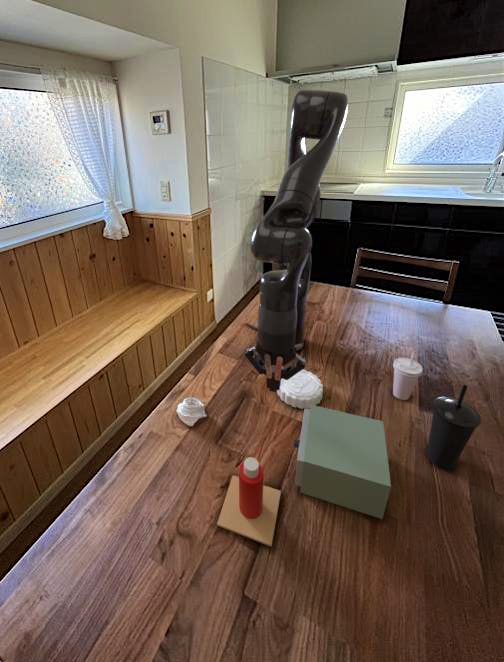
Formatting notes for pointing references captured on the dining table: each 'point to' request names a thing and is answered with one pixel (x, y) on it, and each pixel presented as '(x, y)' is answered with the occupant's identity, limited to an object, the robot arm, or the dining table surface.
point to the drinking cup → (451, 429)
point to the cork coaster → (250, 528)
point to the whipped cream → (191, 411)
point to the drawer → (301, 447)
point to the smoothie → (405, 376)
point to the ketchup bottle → (251, 488)
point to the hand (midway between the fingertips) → (273, 388)
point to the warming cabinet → (346, 461)
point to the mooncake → (301, 390)
